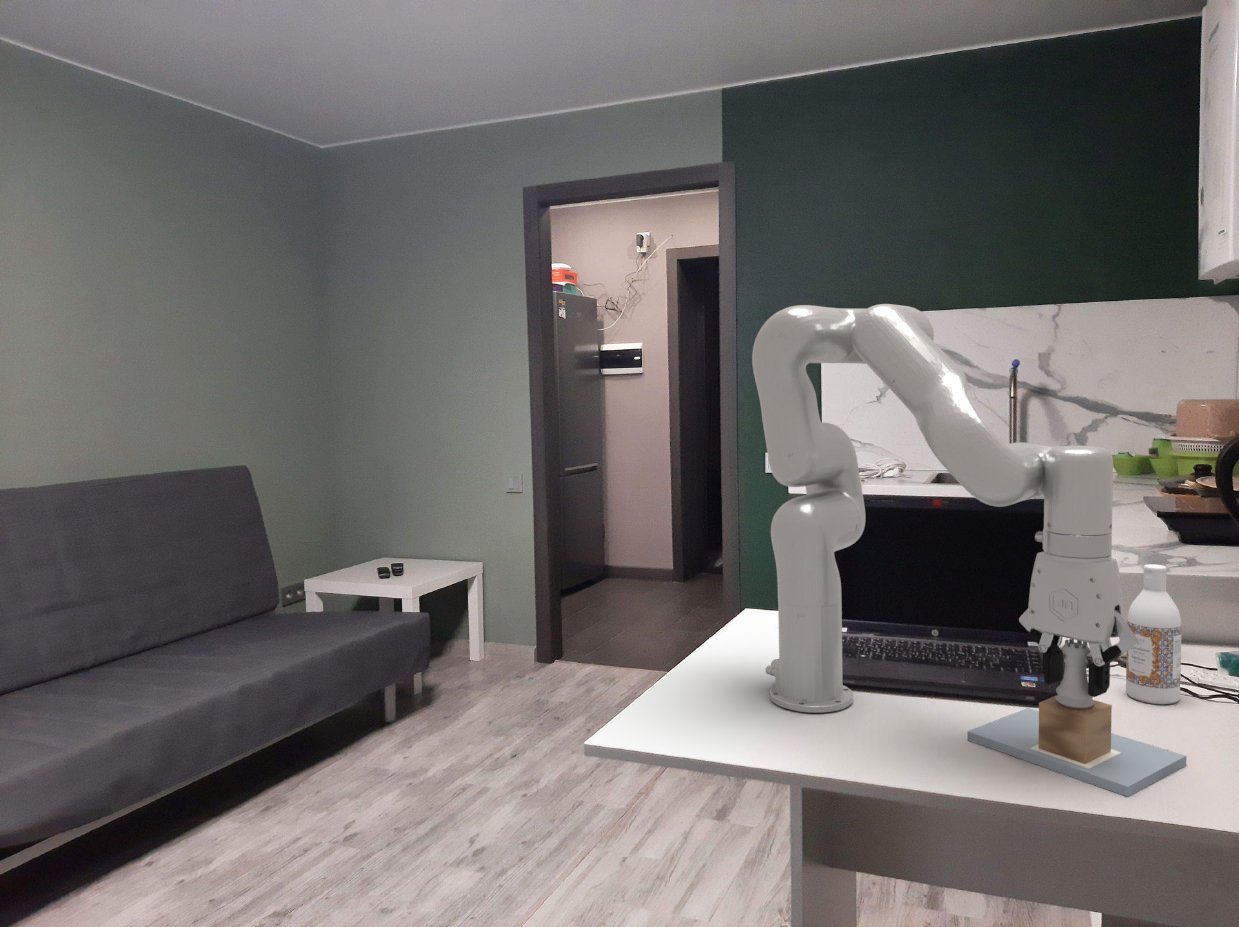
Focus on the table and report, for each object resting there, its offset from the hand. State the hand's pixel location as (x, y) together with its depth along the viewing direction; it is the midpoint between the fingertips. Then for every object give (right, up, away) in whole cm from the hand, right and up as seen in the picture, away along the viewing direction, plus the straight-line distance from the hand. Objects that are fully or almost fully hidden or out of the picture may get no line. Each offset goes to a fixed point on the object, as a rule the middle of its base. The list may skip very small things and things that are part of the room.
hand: (1075, 686), depth 112 cm
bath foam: (+23, -7, +21) cm, 32 cm away
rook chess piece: (0, -2, 0) cm, 2 cm away
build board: (+1, -9, +3) cm, 10 cm away
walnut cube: (0, -8, +1) cm, 8 cm away
